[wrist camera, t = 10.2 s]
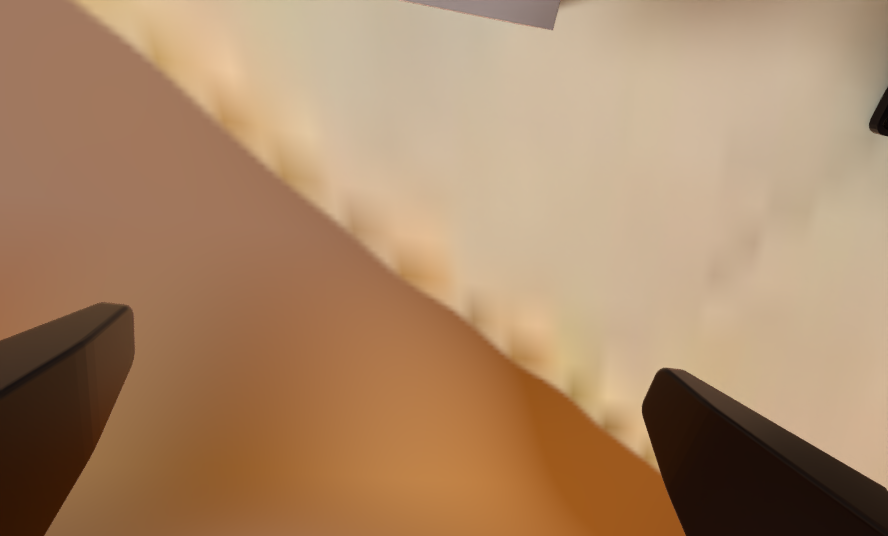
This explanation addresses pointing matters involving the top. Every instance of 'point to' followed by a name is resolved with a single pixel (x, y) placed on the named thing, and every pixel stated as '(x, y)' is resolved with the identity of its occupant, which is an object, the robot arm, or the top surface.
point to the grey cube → (503, 10)
